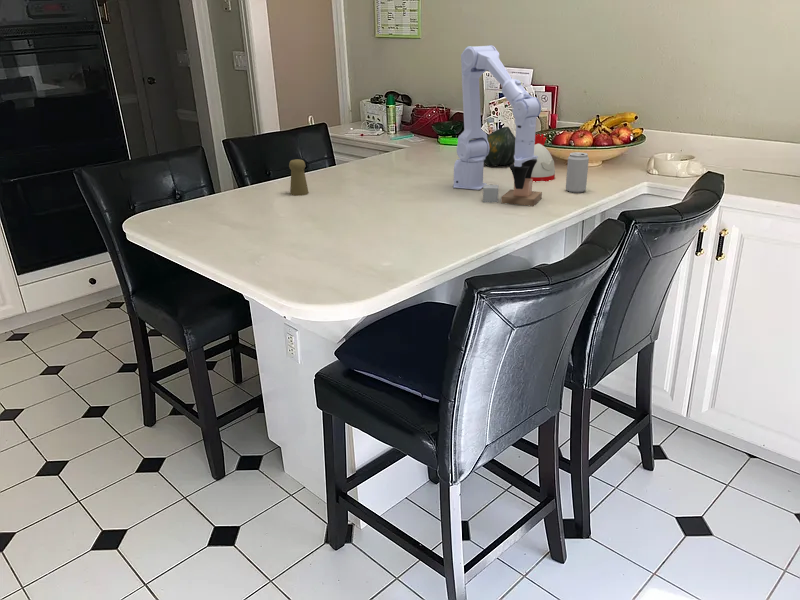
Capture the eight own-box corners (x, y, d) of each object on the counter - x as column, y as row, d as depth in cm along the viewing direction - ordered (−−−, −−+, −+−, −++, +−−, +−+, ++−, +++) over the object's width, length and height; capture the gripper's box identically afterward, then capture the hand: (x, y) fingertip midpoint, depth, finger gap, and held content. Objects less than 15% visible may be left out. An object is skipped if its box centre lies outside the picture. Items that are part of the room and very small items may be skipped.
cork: (312, 192, 216) (309, 158, 211) (302, 196, 211) (299, 162, 206) (296, 190, 218) (294, 157, 214) (286, 194, 213) (283, 160, 209)
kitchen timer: (563, 178, 228) (566, 134, 222) (534, 184, 221) (537, 139, 215) (534, 171, 239) (536, 129, 233) (506, 176, 232) (508, 133, 226)
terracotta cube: (513, 195, 199) (514, 180, 197) (517, 192, 203) (518, 177, 201) (528, 196, 197) (528, 181, 195) (531, 193, 201) (532, 178, 199)
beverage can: (586, 193, 207) (590, 155, 203) (565, 193, 209) (568, 155, 204) (585, 189, 213) (588, 151, 208) (565, 188, 214) (568, 151, 210)
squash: (466, 150, 250) (490, 122, 240) (488, 146, 260) (511, 119, 250) (488, 178, 247) (513, 151, 237) (509, 173, 257) (534, 147, 247)
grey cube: (482, 202, 200) (483, 188, 198) (483, 198, 204) (483, 184, 202) (497, 202, 199) (498, 188, 198) (498, 199, 203) (498, 184, 202)
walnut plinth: (501, 203, 199) (501, 196, 198) (510, 195, 207) (510, 189, 206) (533, 206, 195) (534, 199, 194) (541, 198, 203) (541, 191, 202)
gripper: (532, 145, 186) (529, 192, 191) (544, 137, 198) (541, 181, 203) (508, 144, 189) (506, 190, 194) (521, 136, 201) (518, 180, 206)
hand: (522, 185), depth 199 cm, fingers open, 7 cm apart
